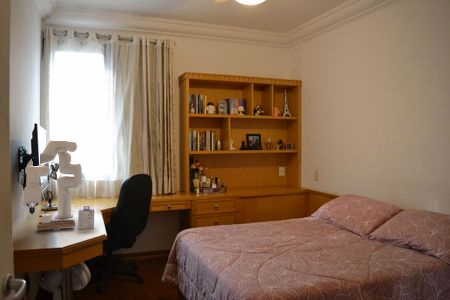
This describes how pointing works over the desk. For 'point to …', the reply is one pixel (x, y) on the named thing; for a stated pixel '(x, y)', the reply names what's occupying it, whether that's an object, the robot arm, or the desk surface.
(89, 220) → the ink cartridge box
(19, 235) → the desk surface
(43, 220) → the rider
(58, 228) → the beam
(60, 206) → the robot arm
